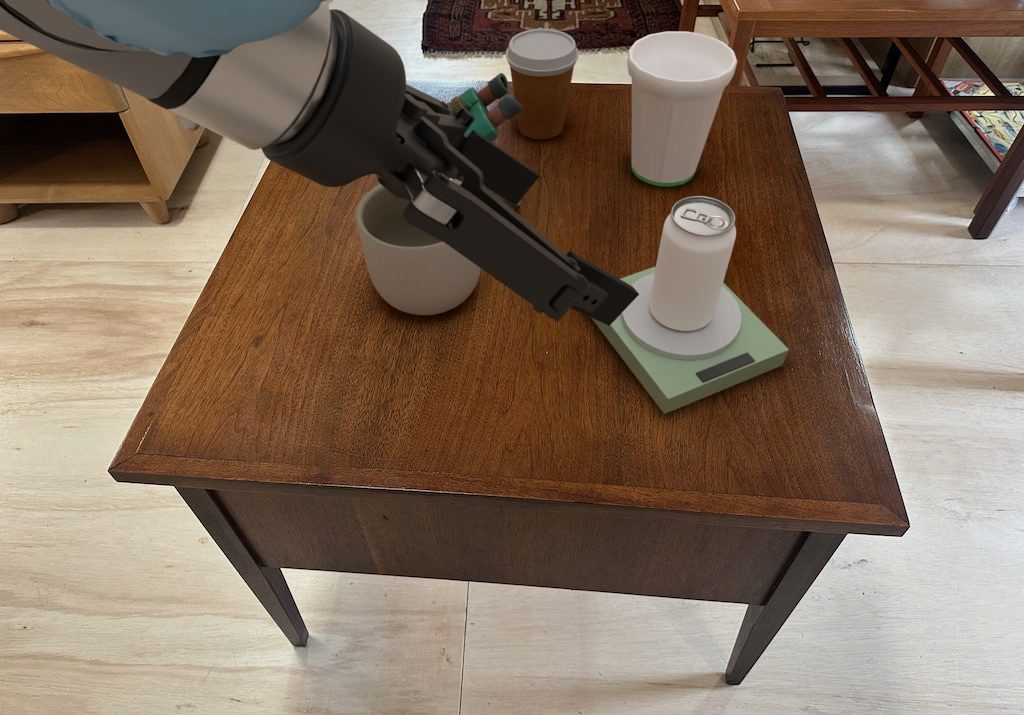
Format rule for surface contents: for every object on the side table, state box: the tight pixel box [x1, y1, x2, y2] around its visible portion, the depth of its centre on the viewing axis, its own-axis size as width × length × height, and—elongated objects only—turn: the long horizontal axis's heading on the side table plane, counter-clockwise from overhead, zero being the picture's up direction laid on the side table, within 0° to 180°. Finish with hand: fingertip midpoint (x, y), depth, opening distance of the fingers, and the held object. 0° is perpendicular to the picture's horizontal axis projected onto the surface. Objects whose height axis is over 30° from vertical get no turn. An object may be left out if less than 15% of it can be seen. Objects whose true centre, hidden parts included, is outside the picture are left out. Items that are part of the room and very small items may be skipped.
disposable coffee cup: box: [505, 28, 580, 140], centre depth 96 cm, size 10×10×12 cm
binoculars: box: [446, 72, 523, 210], centre depth 85 cm, size 14×14×15 cm
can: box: [649, 195, 737, 331], centre depth 67 cm, size 6×6×12 cm
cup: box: [626, 30, 738, 188], centre depth 87 cm, size 12×12×15 cm
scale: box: [591, 265, 790, 415], centre depth 73 cm, size 16×14×3 cm
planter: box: [354, 179, 482, 316], centre depth 75 cm, size 12×12×11 cm
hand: (569, 242), depth 48 cm, fingers open, 13 cm apart
